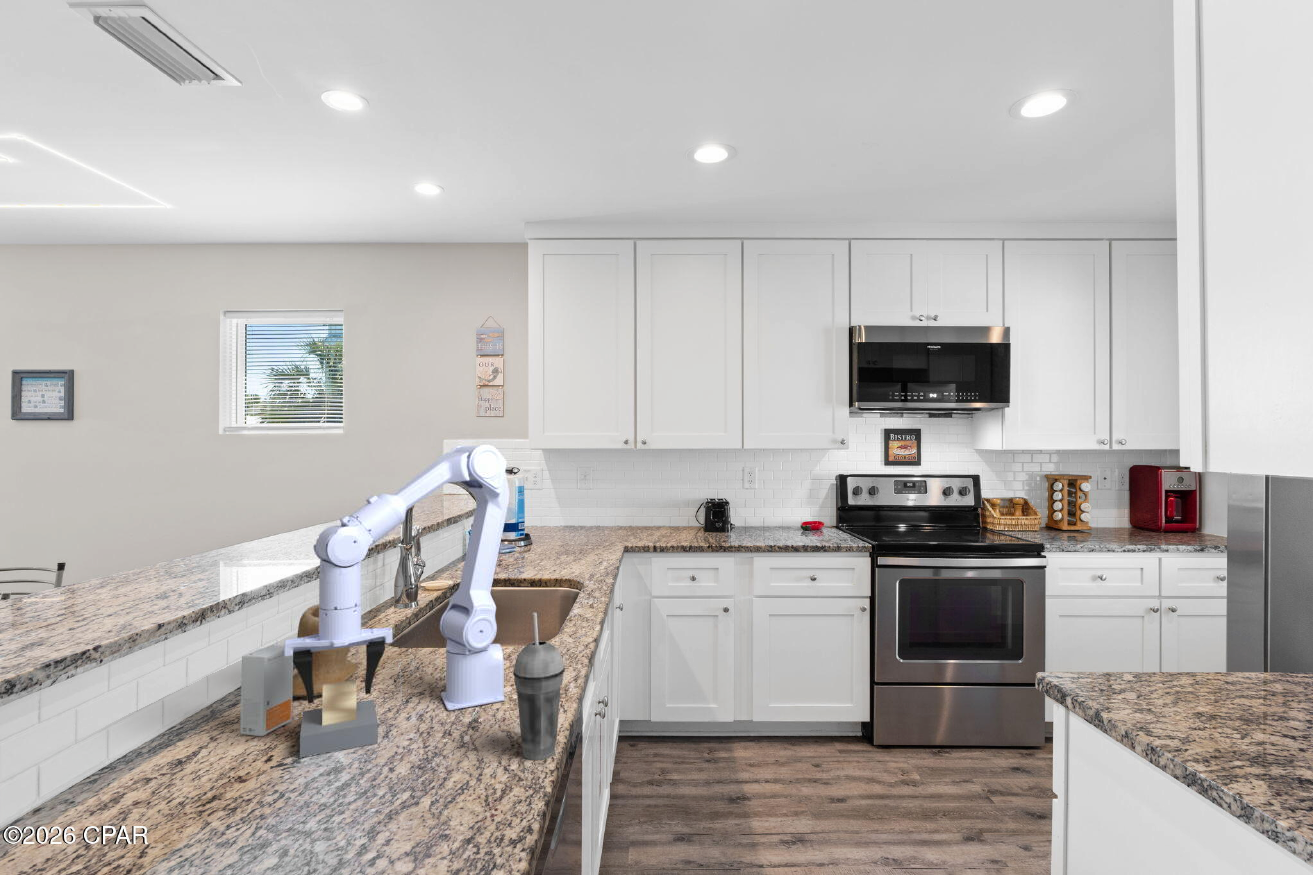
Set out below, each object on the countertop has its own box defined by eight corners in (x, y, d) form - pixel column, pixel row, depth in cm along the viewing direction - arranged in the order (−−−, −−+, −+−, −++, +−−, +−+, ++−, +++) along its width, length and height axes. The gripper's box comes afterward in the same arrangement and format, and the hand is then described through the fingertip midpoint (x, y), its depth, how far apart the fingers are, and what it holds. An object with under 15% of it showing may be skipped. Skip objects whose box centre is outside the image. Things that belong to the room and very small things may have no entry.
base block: (373, 718, 102) (373, 699, 102) (377, 743, 93) (377, 722, 94) (302, 730, 98) (303, 711, 98) (299, 758, 89) (300, 736, 89)
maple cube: (355, 708, 99) (355, 679, 99) (356, 719, 95) (356, 689, 95) (322, 714, 97) (323, 684, 97) (322, 725, 93) (322, 694, 93)
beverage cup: (573, 745, 92) (573, 606, 93) (549, 768, 86) (549, 619, 86) (529, 738, 95) (529, 603, 95) (502, 760, 88) (502, 615, 89)
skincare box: (263, 737, 96) (264, 657, 96) (239, 735, 97) (240, 655, 97) (293, 720, 102) (294, 645, 102) (271, 718, 103) (271, 644, 103)
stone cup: (338, 701, 110) (338, 614, 110) (268, 702, 109) (269, 614, 110) (376, 672, 125) (376, 595, 125) (315, 672, 125) (315, 595, 125)
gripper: (283, 617, 89) (282, 715, 89) (394, 605, 96) (393, 696, 96) (286, 606, 96) (285, 698, 95) (390, 596, 102) (390, 681, 102)
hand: (339, 696), depth 96 cm, fingers open, 7 cm apart
